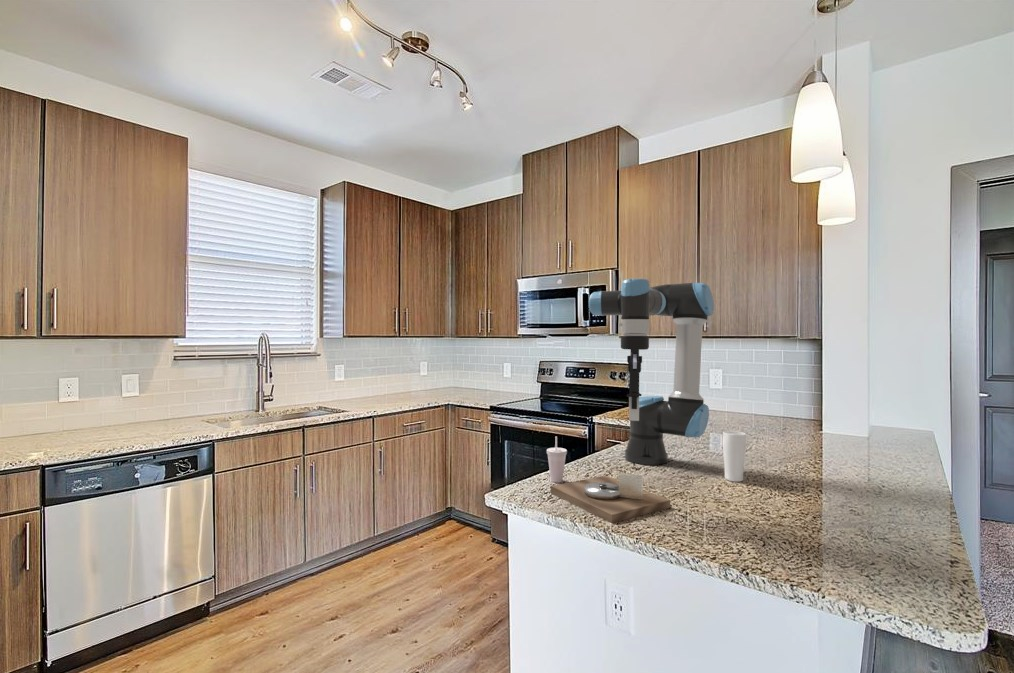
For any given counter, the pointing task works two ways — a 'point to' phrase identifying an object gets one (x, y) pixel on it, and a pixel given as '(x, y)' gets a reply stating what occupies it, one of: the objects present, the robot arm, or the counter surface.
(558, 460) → the smoothie
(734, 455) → the drinking glass
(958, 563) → the counter surface
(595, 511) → the panel
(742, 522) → the counter surface
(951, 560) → the counter surface
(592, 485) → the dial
